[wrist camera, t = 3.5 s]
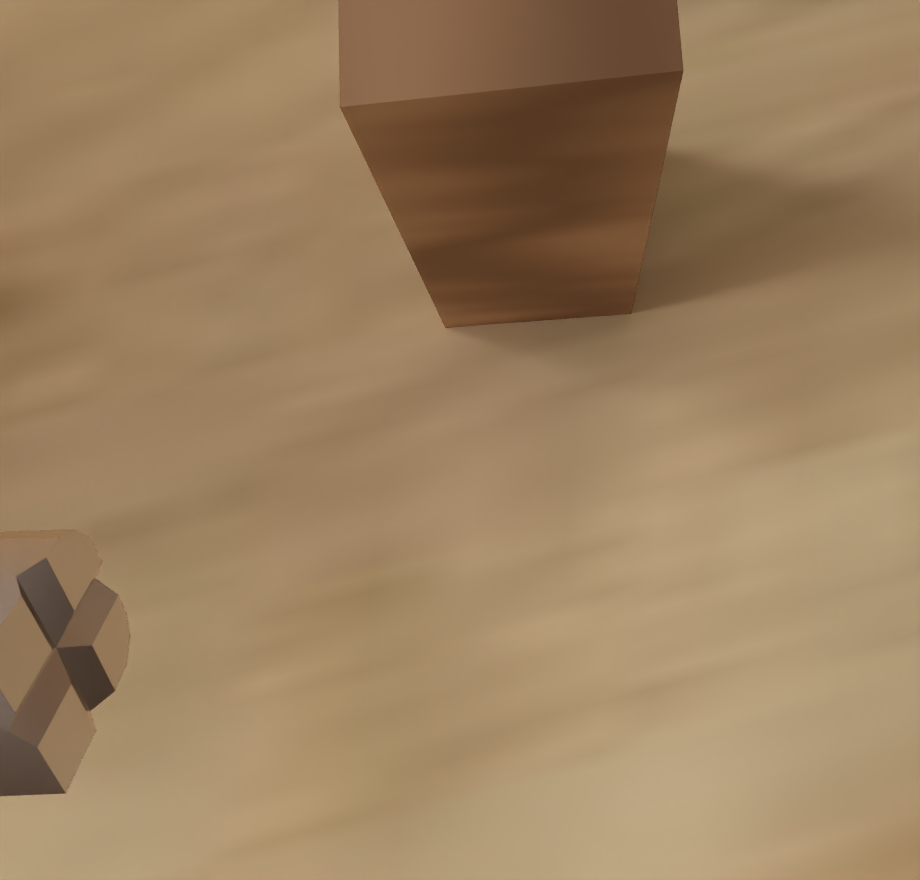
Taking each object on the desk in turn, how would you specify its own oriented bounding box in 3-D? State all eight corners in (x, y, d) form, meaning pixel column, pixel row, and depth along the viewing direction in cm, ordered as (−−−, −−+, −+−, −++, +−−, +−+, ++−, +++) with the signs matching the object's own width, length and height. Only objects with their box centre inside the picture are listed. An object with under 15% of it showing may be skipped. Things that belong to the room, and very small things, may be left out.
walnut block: (445, 327, 21) (340, 106, 12) (439, 157, 22) (335, -182, 12) (631, 313, 21) (683, 71, 11) (617, 140, 22) (655, -229, 12)
